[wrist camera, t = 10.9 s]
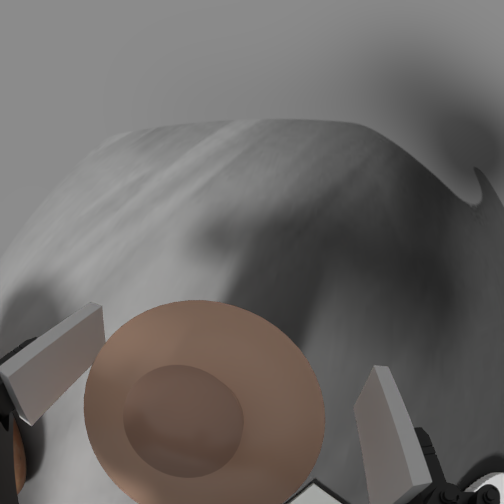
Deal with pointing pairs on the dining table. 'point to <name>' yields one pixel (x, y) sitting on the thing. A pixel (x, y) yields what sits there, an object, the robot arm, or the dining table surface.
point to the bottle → (204, 407)
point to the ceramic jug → (18, 458)
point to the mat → (313, 496)
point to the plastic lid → (496, 478)
